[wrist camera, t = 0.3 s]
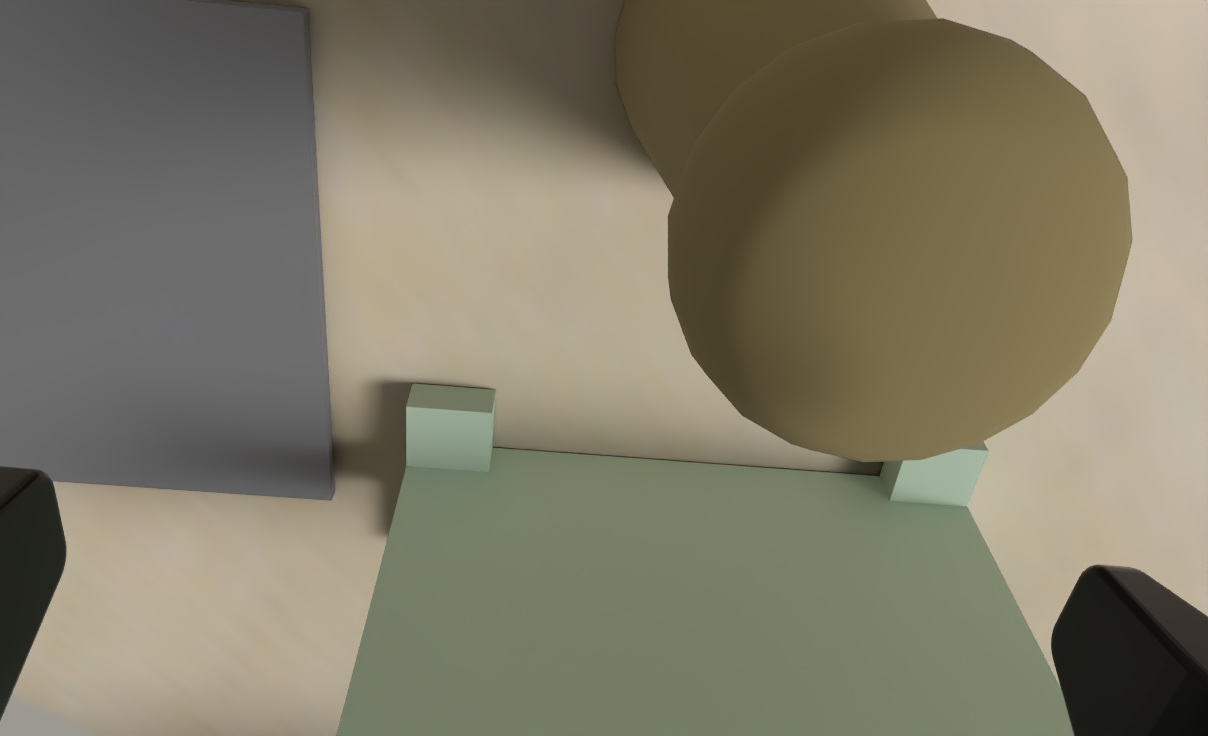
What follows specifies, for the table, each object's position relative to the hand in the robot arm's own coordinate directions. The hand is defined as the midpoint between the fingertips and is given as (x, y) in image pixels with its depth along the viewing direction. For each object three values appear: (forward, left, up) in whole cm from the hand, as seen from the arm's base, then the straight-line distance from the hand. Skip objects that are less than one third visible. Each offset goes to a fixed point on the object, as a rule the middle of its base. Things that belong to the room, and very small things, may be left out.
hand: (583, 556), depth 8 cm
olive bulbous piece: (+1, -3, -14) cm, 14 cm away
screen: (-10, -3, -13) cm, 17 cm away
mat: (-5, +12, -13) cm, 18 cm away
